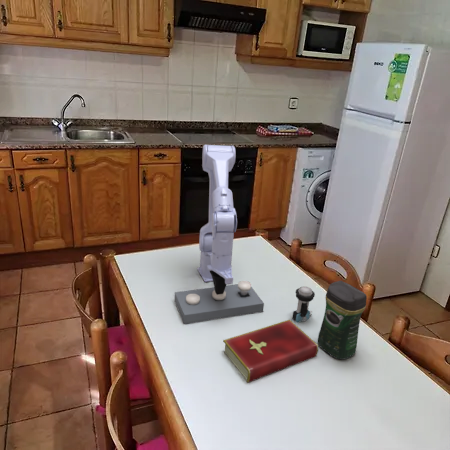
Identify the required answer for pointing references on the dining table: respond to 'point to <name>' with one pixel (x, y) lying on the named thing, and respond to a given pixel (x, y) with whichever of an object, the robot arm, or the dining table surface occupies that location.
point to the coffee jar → (341, 320)
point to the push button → (303, 304)
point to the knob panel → (217, 304)
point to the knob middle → (218, 296)
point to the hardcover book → (269, 349)
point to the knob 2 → (244, 287)
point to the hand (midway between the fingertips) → (219, 293)
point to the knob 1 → (192, 299)
